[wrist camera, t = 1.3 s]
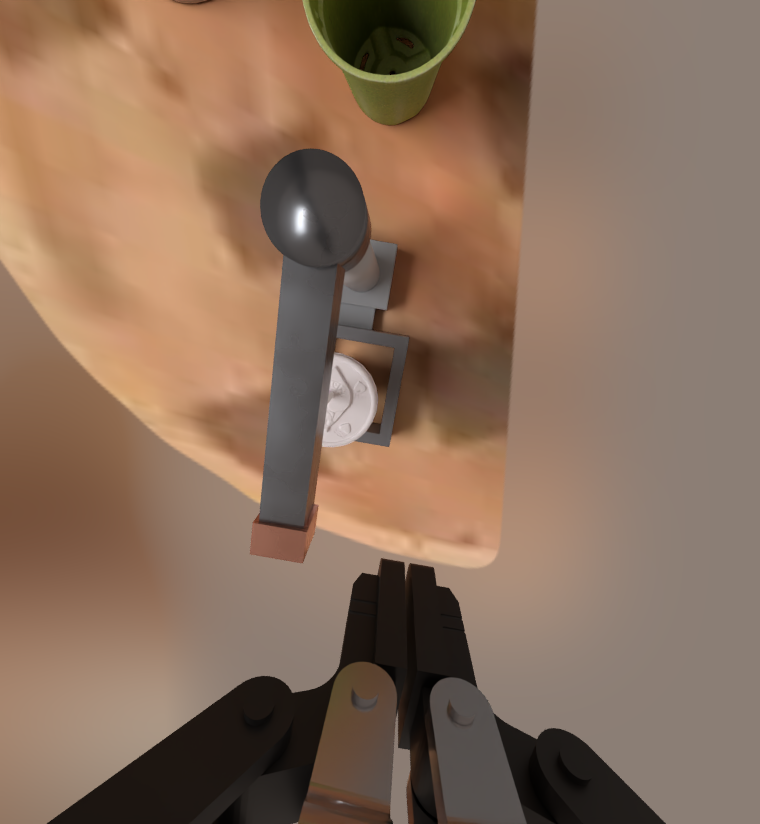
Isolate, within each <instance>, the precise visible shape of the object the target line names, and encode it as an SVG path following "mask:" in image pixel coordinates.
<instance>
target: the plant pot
mask: <svg viewBox="0 0 760 824" xmlns="http://www.w3.org/2000/svg"><path fill="white" fill-rule="evenodd" d="M475 1H476V0H303V5H304V9H305V13H306V16H307V19H308V22H309V25H310V28H311V30H312V32H313V34H314V36H315V38H316V40H317V42H318V43H319V45H320V47H321V48H322V49H323V51H324V52H325V53H326V55H327V56H328V57H329V58H330V59H331V60H332V61H333V62H334V63H335V64H336V65H337V66H338V67H339V68H340V69H341V70H342V71H343V73H344V75H345V77H346V80H347V82H348V84H349V86H350V88H351V91H352V93H353V95H354V97H355V99H356V101H357V103H358V105H359V107H360V108H361V109H362V111H363V112H364V113H365V114H366V115H367V116H368V117H369V118H371V119H372V120H374V121H376V122H378V123H381V124H385V125H396V124H399V123H401V122H404V121H406V120H408V119H410V118H412V117H414V116H415V115H416V114H417V113H419V111H420V110H421V109H422V108H423V106H424V105H425V103H426V102H427V99H428V97H429V95H430V92H431V89H432V87H433V84H434V81H435V79H436V76H437V73H438V71H439V68H440V66H441V63H442V61H443V60H444V59H445V58H446V57H447V56H448V55H449V54H450V53H451V52H452V50H453V49H454V47H455V46H456V45H457V43H458V42H459V40H460V39H461V37H462V35H463V33H464V31H465V29H466V27H467V25H468V22H469V20H470V17H471V14H472V11H473V8H474V5H475ZM396 38H406V39H408V40H410V41H411V42H412V43H413V45H414V47H413V48H412V49H411V48H409V47H408V46H407V45H405V44H403V43H401V42H400V41H399V40H398V41H397V40H396ZM365 53H368V54H369V57H368V59H367V62H366V64H365V67H364V69H363V71H361V70H359V69H360V65H361V61H362V58H363V56H364V55H365ZM390 71H394V72H395V73H396V75H389V73H390Z"/></svg>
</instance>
